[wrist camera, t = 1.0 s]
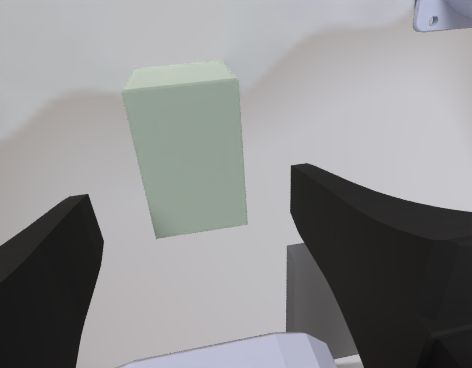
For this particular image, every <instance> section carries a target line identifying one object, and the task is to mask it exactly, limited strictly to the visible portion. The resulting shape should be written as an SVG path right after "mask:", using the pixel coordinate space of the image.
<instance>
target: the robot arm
mask: <svg viewBox="0 0 472 368" xmlns="http://www.w3.org/2000/svg"><path fill="white" fill-rule="evenodd" d="M432 17H433V23H432V24H431V25H429V21H430V19H431V18H432ZM413 28H414V30H415V31H418V32H430V31H440V30H450V29H461V28H472V0H417V2H416V8H415V13H414V19H413ZM290 202H291V203H290V208H291V209H290V212H291V215H292V218H293V220H294V223H295V225H296V228H297V230H298V232H299V234H300V236H301V238H302V240H303V241H304V243H305V245H306V246H307V248H308V250H309V252H310V253H311V255H312V257H313V258H314V260H315V262H316V263H317V265H318V267H319V268H320V270H321V272H322V273H323V275H324V277H325V278H326V280H327V282H328V284H329V286H330V288H331V290H332V292H333V294H334V296H335V299H336V301H337V303H338V305H339V308H340V310H341V312H342V314H343V317H344V319H345V321H346V324H347V326H348V329H349V331H350V333H351V336H352V338H353V340H354V343H355V346H356V348H357V351H358V353H359V356H360V358H361V361H362V363H363V366H364V368H472V212H467V211H459V210H451V209H445V208H440V207H434V206H430V205H425V204H420V203H415V202H411V201H407V200H403V199H400V198H396V197H392V196H389V195H386V194H382V193H379V192H376V191H373V190H371V189H368V188H366V187H363V186H360V185H358V184H355V183H353V182H350V181H348V180H346V179H343V178H341V177H339V176H337V175H334V174H332V173H330V172H328V171H325V170H323V169H321V168H318V167H316V166H314V165H311V164H308V163H306V164H298V165H291V201H290ZM103 245H104V240H103V237H102V234H101V231H100V228H99V225H98V222H97V219H96V216H95V213H94V210H93V207H92V204H91V201H90V198H89V195H88V194H85V195H78V196H70V197H68V198H66V199H65V200H63V201H62V202H60V203H59V204H57V205H56V206H55V207H53V208H52V209H51V210H49V211H48V212H47V213H45V214H44V215H43V216H41V217H40V218H39V219H37V220H36V221H35V222H34V223H32V224H31V225H30V226H28V227H27V228H26V229H24V230H23V231H21V232H20V233H18V234H17V235H16V236H14V237H13V238H11V239H10V240H8V241H7V242H6V243H4V244H3V245H1V246H0V368H76V363H77V357H78V351H79V345H80V340H81V334H82V330H83V326H84V322H85V319H86V315H87V312H88V309H89V305H90V302H91V298H92V295H93V292H94V288H95V285H96V281H97V278H98V274H99V271H100V267H101V261H102V253H103ZM117 368H337V366H336V364H335V362H334V359H333V357H332V355H331V353H330V351H329V349H328V346H327V344H326V343H324V342H322V341H320V340H318V339H316V338H314V337H312V336H310V335H308V334H306V333H302V332H286V333H285V332H282V333H269V334H265V335H259V336H254V337H249V338H244V339H239V340H234V341H230V342H224V343H219V344H215V345H209V346H205V347H200V348H195V349H189V350H184V351H179V352H174V353H170V354H164V355H159V356H154V357H149V358H144V359H139V360H135V361H132V362H130V363H127V364H124V365H122V366H119V367H117Z"/></svg>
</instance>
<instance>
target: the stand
mask: <svg viewBox="0 0 472 368" xmlns="http://www.w3.org/2000/svg"><path fill="white" fill-rule="evenodd" d="M286 302H287V303H286V306H287V307H286V332H302V333H306V334H308V335H310V336H312V337H314V338H316V339H318V340H320V341H322V342H324V343H326V344H327V346H328V349H329V351H330V353H331V355H332V357H333V359H337V358H342V357H347V356H352V355H356V354H359V353H358V351H357V348H356V346H355V343H354V340H353V338H352V336H351V333H350V331H349V329H348V326H347V324H346V321H345V319H344V317H343V314H342V312H341V310H340V308H339V305H338V303H337V301H336V299H335V296H334V294H333V292H332V290H331V288H330V286H329V284H328V282H327V280H326V278H325V277H324V275H323V273H322V272H321V270H320V268H319V267H318V265H317V263H316V262H315V260H314V258H313V257H312V255H311V253H310V252H309V250H308V248H307V246H306V245H305V243H301V244H295V245H289V246H287V300H286Z"/></svg>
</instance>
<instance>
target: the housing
mask: <svg viewBox="0 0 472 368" xmlns="http://www.w3.org/2000/svg"><path fill="white" fill-rule="evenodd" d="M122 96H123V100H124V104H125V108H126V113H127V117H128V122H129V125H130V130H131V134H132V138H133V143H134V147H135V151H136V155H137V160H138V164H139V168H140V173H141V176H142V181H143V185H144V190H145V194H146V198H147V202H148V207H149V211H150V215H151V219H152V224H153V228H154V232H155V236H156V239H157V238H164V237H170V236H176V235H182V234H189V233H195V232H202V231H208V230H214V229H221V228H227V227H233V226H240V225H246V224H247V209H246V193H245V177H244V163H243V145H242V130H241V114H240V98H239V82H238V79H237V78H236V77H235V76H234V75H233V74H232V72H231V71H230V70H229V69H228V68H227V67H226V66H225V64H224V63H223V62H222V61H221V60H217V61H207V62H197V63H187V64H177V65H167V66H156V67H146V68H136V69H135V70H134V72H133V74H132V75H131V77H130V79H129V81H128V83H127V84H126V86H125V88H124V90H123V92H122Z"/></svg>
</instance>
